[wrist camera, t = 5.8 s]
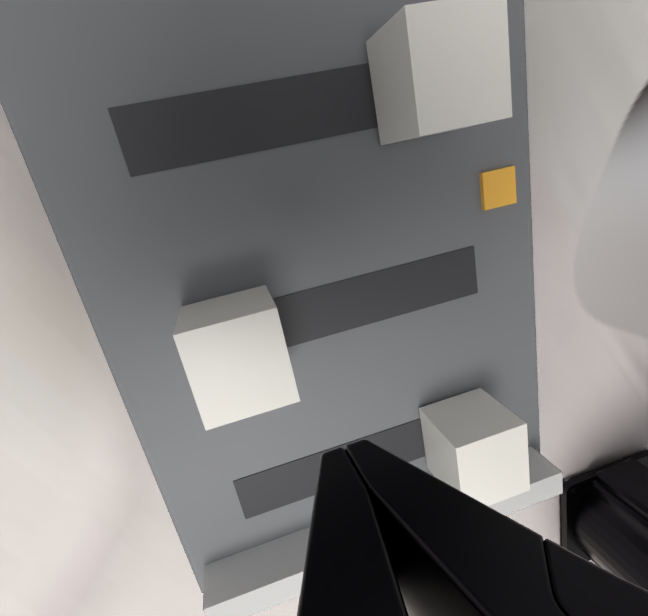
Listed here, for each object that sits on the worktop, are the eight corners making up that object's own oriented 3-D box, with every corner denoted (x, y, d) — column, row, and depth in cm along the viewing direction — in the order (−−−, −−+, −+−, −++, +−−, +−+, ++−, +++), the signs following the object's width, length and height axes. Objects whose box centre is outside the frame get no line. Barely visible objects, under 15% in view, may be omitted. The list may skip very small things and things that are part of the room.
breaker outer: (457, 129, 15) (512, 117, 12) (380, 145, 15) (419, 136, 12) (448, 28, 14) (506, -11, 11) (365, 41, 14) (404, 5, 11)
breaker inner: (485, 446, 20) (530, 489, 17) (427, 467, 19) (463, 515, 16) (480, 387, 19) (526, 423, 16) (418, 408, 18) (455, 448, 15)
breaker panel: (514, 442, 23) (572, 493, 19) (203, 555, 20) (200, 639, 16) (485, -37, 16) (568, -105, 12) (-3, 30, 13) (-92, -33, 9)
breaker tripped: (285, 363, 16) (300, 401, 13) (207, 386, 16) (205, 430, 13) (265, 284, 15) (276, 307, 12) (180, 306, 15) (172, 335, 12)
